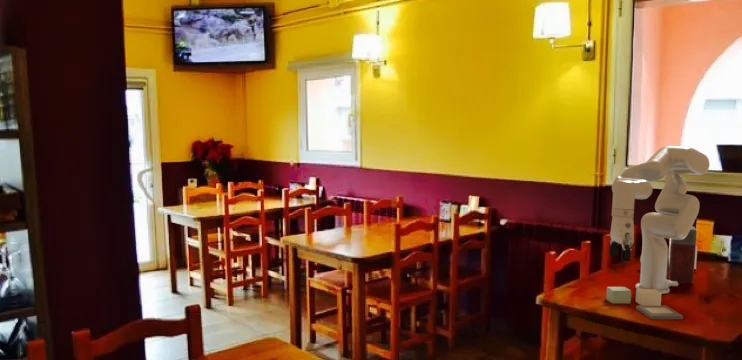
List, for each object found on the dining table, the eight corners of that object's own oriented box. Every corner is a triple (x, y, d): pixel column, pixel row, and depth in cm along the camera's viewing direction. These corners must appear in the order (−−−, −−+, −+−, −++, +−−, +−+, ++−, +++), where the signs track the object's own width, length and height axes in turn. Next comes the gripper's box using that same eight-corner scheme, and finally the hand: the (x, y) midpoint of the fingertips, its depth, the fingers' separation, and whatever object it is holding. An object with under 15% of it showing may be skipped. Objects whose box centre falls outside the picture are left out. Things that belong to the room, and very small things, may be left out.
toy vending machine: (691, 277, 255) (695, 215, 253) (693, 284, 245) (697, 218, 242) (668, 275, 259) (672, 213, 256) (669, 281, 249) (673, 217, 246)
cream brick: (653, 302, 221) (654, 289, 221) (660, 306, 216) (661, 293, 216) (635, 302, 221) (636, 289, 220) (642, 306, 216) (643, 293, 215)
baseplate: (665, 308, 213) (665, 305, 213) (682, 319, 202) (682, 315, 202) (636, 308, 212) (636, 305, 212) (651, 319, 201) (651, 315, 201)
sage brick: (624, 299, 224) (624, 286, 223) (630, 303, 219) (631, 290, 218) (606, 299, 224) (606, 286, 223) (612, 303, 219) (612, 290, 218)
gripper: (643, 216, 209) (640, 263, 211) (622, 209, 227) (619, 253, 228) (623, 216, 209) (620, 263, 211) (603, 209, 226) (600, 252, 228)
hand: (619, 257), depth 220 cm, fingers open, 9 cm apart
